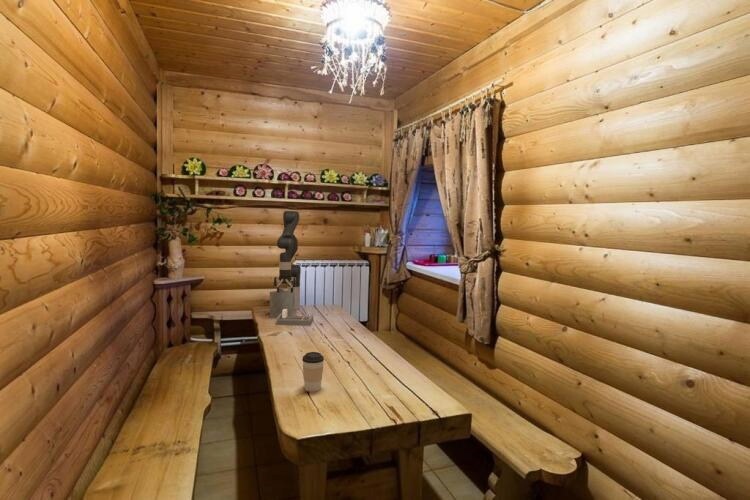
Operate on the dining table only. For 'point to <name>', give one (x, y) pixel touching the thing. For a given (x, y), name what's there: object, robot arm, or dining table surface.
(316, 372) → the coffee cup
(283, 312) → the fader tab
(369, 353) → the dining table surface
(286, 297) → the grey upright panel
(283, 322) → the console
